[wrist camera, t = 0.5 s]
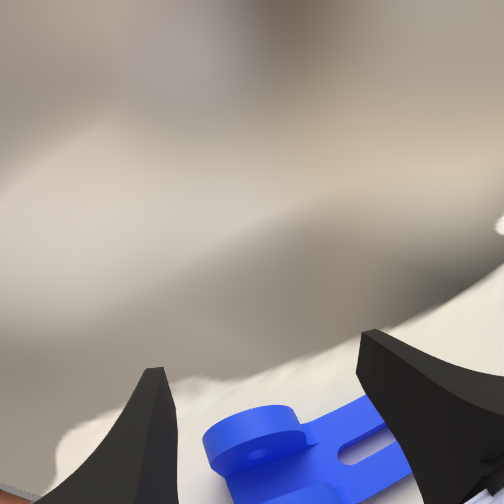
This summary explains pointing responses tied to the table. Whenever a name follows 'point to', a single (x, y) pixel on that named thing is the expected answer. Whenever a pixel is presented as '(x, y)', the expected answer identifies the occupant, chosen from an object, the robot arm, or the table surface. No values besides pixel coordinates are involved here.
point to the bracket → (301, 456)
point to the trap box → (16, 495)
